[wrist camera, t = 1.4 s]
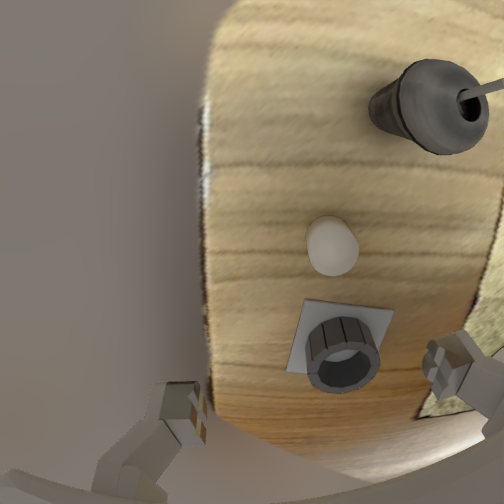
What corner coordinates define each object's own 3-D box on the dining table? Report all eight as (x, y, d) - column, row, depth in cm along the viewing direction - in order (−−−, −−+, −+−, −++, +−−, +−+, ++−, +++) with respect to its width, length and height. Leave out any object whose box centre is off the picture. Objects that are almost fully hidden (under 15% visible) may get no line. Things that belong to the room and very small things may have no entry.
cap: (354, 219, 32) (364, 233, 28) (343, 261, 34) (351, 279, 30) (309, 211, 33) (314, 224, 28) (301, 254, 34) (304, 272, 30)
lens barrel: (393, 309, 36) (406, 334, 31) (364, 375, 41) (371, 402, 36) (304, 298, 36) (308, 324, 32) (285, 369, 41) (285, 397, 36)
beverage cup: (379, 156, 29) (497, 203, 11) (342, 97, 27) (434, 59, 9) (429, 126, 27) (565, 144, 9) (395, 68, 25) (517, 22, 7)
